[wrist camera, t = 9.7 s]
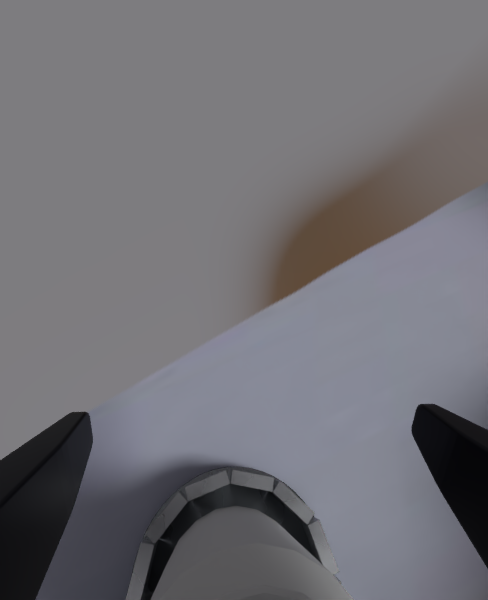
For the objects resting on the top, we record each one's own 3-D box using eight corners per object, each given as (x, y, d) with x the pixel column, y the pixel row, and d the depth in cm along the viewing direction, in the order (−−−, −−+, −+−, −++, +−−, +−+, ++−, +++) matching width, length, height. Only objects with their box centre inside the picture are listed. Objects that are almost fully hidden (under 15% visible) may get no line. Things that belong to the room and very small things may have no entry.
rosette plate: (323, 741, 16) (342, 787, 13) (101, 698, 16) (83, 737, 13) (333, 484, 21) (347, 487, 18) (165, 451, 21) (160, 450, 18)
